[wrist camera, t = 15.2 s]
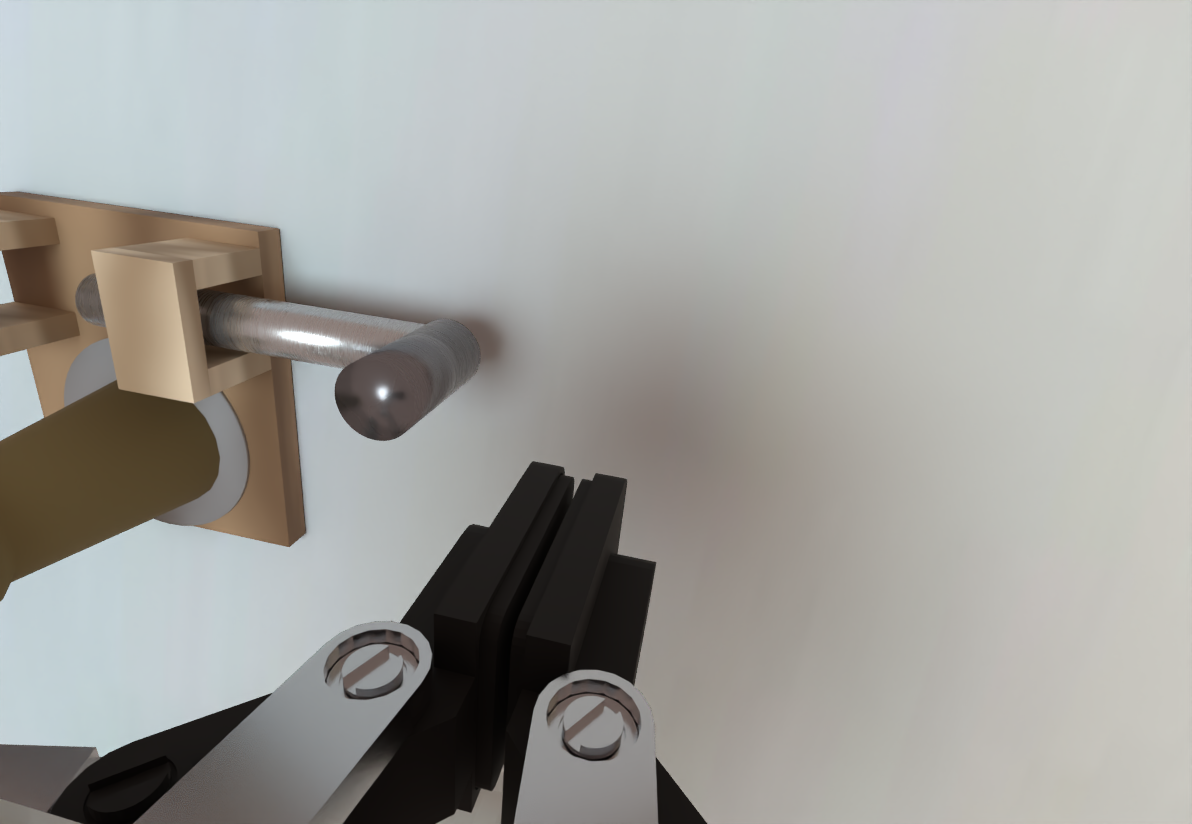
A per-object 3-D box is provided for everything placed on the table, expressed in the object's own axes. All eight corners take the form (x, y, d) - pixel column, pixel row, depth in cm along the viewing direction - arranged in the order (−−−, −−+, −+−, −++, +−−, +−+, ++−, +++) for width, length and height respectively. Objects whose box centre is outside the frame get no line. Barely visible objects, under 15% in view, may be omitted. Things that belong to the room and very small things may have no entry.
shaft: (486, 321, 22) (414, 367, 17) (484, 385, 23) (414, 447, 18) (119, 263, 24) (-44, 289, 19) (130, 324, 25) (-22, 364, 20)
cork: (223, 515, 28) (-53, 708, 18) (106, 482, 29) (-222, 650, 19) (215, 394, 26) (-108, 540, 16) (88, 360, 27) (-299, 480, 17)
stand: (279, 228, 24) (169, 243, 20) (305, 533, 30) (224, 602, 25) (18, 191, 26) (-141, 197, 21) (87, 485, 31) (-27, 542, 27)
